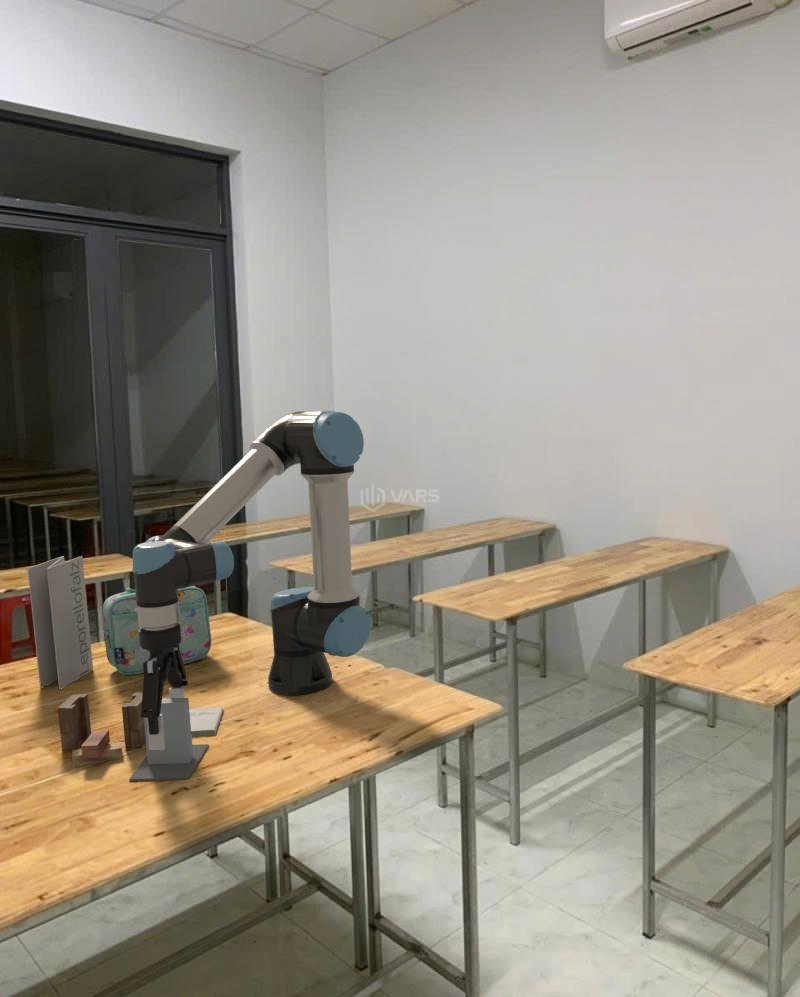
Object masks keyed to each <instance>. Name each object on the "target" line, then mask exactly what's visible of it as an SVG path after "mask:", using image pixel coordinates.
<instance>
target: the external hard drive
mask: <svg viewBox="0 0 800 997" xmlns="http://www.w3.org/2000/svg"><path fill="white" fill-rule="evenodd" d="M189 712H190V724H191V737H195V736H196V737H197V736H211V735H216V733H217V729H218V727H219V724H220V721H221V718H222V717H223V713H224V707H222V706H216V707H202V708H201V707H200V708H189Z"/></svg>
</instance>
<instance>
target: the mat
mask: <svg viewBox="0 0 800 997" xmlns="http://www.w3.org/2000/svg"><path fill="white" fill-rule="evenodd" d="M209 747H210V745H209V744H207V743H206V744H205V743H204V744H203V743H201V744H198V743H197V744H192V750H193V758H192V760H191V762H190V763H175V764H148V759H147V755H146V756H145V757H144V759H143V760H142V761H141V763H140V764H139V766H138V767H136V769H135V771H134V772H133V773H132V775H131V776H130V777H129V779H128V780H129V782H144V781H145V782H149V781H151V782H152V781H157V782H158V781H184V780H185V781H188V780H189V781H190V779H191V777H192V776H193V773H194V772H195V770H196V769H197V767H198V765H199V764H200V762H201V760H202V758H203V757H204V755H205V754H206V751H207V750H208V748H209Z"/></svg>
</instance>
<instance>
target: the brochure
mask: <svg viewBox="0 0 800 997" xmlns="http://www.w3.org/2000/svg"><path fill="white" fill-rule="evenodd" d="M27 576H28V586H29V596H30V606H31V607H30V608H31V615H32V623H33V626H32V627H33V633H34V641H35V642H34V643H35V654H36V664H37V674H38V683H39V689H40V688H42V687H44V686H46V685H47V684H49V683H51V682H53V681H54V682H56V681H57V680H56V679H58V690H59V689H61V688H63V687H64V688H66V687H67V685H68V684H69V685H71V684H73V683H74V682H75V680H76V681H77V680H79V679H80V677H81V676H82V677H84V676H85V675H84V674H86V673H87V674H89V673H90V672H92V671H94V665H93V664H94V663H93V655H92V653H93V652H92V643H91V631H90V622H89V611H88V602H87V600H88V599H87V590H86V581H85V579H86V578H85V569H84V558H83V555H81V556H77V557H75V558H73V559H69V560H67V561H65V556H64V555H63V556H59V557H56V558H53V559H51V560H47V561H45V562H42V563H39V564H35V565H34V566H30V567H28V568H27ZM91 670H92V671H91ZM89 671H90V672H89ZM88 672H89V673H88ZM87 674H86V675H87ZM83 675H84V676H83ZM82 677H81V678H82ZM78 678H79V679H78ZM55 680H56V681H55ZM73 681H74V682H73ZM54 682H53V683H54ZM72 682H73V683H72ZM70 683H71V684H70ZM51 684H52V683H51ZM49 685H50V684H49ZM69 685H68V686H69ZM47 686H48V685H47ZM47 686H46V687H47ZM65 686H66V687H65ZM44 688H45V687H44ZM64 688H63V689H64ZM42 689H43V688H42ZM61 690H62V689H61Z"/></svg>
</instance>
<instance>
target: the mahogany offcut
mask: <svg viewBox="0 0 800 997" xmlns="http://www.w3.org/2000/svg"><path fill="white" fill-rule="evenodd" d="M110 741H111V739H110V730H109V729H100V730H99V729H98V730H93V731H91V734H90V736H89V737H88V738H87V739H85V741H84V742H83V743H82V744H81V746H80V747H81V748H80V749H82V759H83V758H99V756H100V755H101V753H102V752H103V751H104V749H105V748H106V747H107V745H108V744H110Z"/></svg>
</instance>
